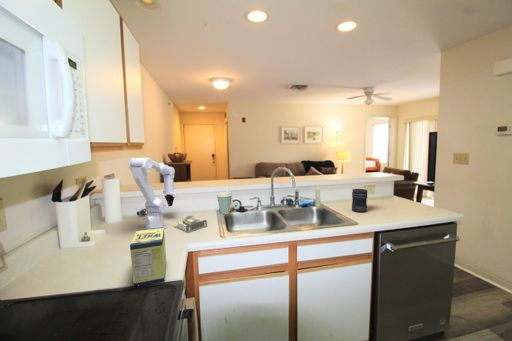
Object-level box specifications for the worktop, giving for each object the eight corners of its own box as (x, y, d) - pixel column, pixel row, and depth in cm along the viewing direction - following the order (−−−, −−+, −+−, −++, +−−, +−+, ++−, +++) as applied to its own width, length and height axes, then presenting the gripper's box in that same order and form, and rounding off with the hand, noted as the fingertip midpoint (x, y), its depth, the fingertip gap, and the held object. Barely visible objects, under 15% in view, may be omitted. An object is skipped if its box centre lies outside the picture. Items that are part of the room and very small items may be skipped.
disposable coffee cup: (217, 215, 160) (216, 194, 158) (217, 211, 170) (216, 191, 168) (233, 214, 162) (232, 193, 160) (231, 210, 172) (231, 190, 170)
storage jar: (369, 212, 161) (370, 191, 159) (354, 213, 161) (355, 191, 159) (362, 208, 171) (363, 188, 169) (349, 208, 171) (350, 188, 169)
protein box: (166, 261, 100) (164, 226, 98) (165, 281, 85) (162, 241, 83) (139, 265, 97) (136, 229, 95) (133, 288, 82) (129, 245, 80)
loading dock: (187, 234, 130) (187, 226, 130) (172, 227, 142) (171, 219, 141) (206, 227, 140) (206, 220, 139) (190, 221, 151) (190, 214, 151)
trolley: (191, 229, 133) (191, 220, 133) (182, 225, 139) (182, 217, 139) (201, 225, 139) (201, 217, 138) (192, 222, 144) (192, 214, 144)
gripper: (180, 185, 147) (181, 206, 149) (169, 183, 157) (170, 202, 159) (169, 187, 142) (171, 209, 144) (159, 184, 152) (160, 205, 154)
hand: (170, 206), depth 151 cm, fingers closed
